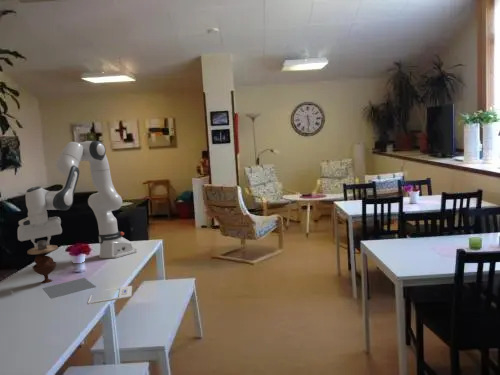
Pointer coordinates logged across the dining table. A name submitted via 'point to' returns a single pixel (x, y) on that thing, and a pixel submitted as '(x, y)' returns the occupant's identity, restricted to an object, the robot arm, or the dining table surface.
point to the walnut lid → (42, 248)
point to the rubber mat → (68, 287)
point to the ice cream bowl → (44, 266)
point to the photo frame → (124, 293)
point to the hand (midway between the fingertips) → (42, 246)
